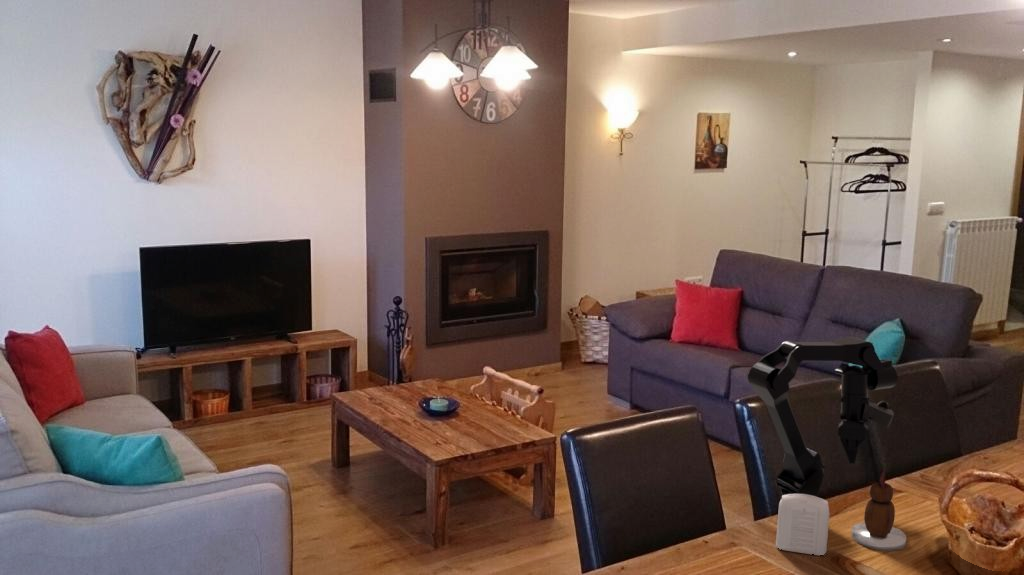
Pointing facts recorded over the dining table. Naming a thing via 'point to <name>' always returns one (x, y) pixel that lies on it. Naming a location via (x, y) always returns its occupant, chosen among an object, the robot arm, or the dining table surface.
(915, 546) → the dining table surface
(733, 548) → the dining table surface
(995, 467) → the dining table surface
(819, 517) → the white upright block
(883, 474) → the wooden figurine
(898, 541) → the plate
